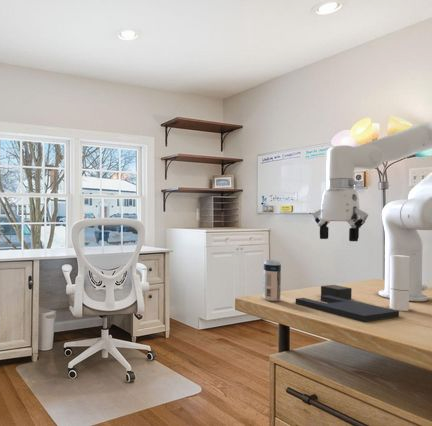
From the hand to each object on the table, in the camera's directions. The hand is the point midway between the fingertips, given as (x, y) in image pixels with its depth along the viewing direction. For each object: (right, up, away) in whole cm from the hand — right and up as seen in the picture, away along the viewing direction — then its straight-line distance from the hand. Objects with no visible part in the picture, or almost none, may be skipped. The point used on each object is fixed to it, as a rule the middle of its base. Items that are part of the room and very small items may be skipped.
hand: (338, 240), depth 118 cm
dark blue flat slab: (-7, -18, -14) cm, 24 cm away
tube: (+10, -19, -12) cm, 24 cm away
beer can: (-22, -18, -3) cm, 29 cm away
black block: (0, -19, +1) cm, 19 cm away
